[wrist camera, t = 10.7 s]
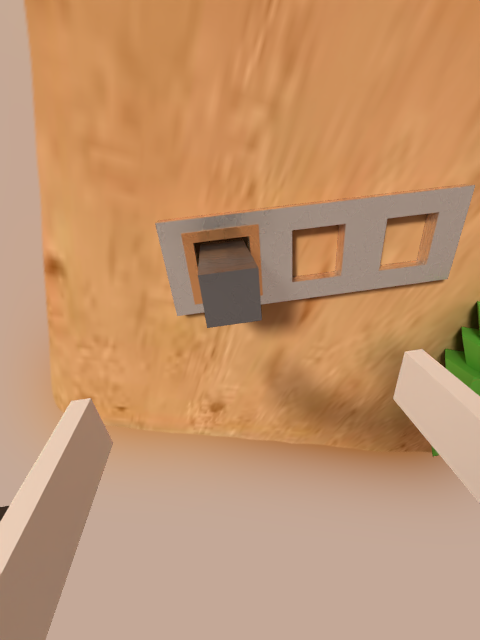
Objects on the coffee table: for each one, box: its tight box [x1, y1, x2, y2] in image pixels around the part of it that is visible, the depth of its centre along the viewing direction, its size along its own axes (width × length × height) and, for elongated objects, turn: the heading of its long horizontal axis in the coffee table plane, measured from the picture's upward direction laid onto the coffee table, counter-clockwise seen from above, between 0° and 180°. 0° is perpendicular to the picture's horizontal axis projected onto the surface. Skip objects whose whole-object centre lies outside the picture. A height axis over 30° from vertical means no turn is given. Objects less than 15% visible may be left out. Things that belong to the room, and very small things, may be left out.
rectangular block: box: [198, 239, 262, 328], centre depth 25 cm, size 4×4×10 cm
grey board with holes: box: [155, 185, 475, 316], centre depth 29 cm, size 10×32×2 cm, turn 96°
